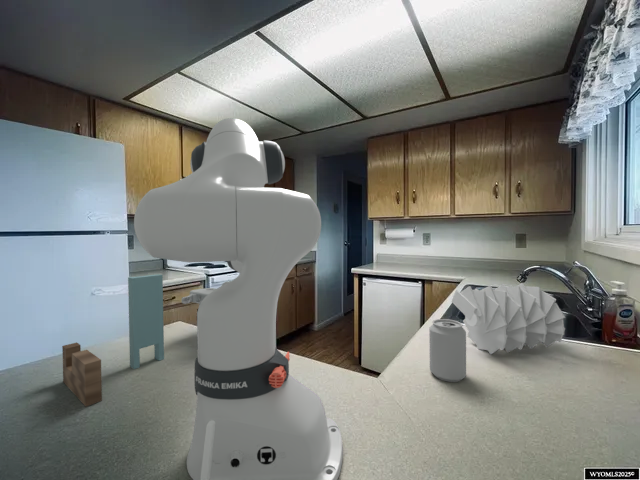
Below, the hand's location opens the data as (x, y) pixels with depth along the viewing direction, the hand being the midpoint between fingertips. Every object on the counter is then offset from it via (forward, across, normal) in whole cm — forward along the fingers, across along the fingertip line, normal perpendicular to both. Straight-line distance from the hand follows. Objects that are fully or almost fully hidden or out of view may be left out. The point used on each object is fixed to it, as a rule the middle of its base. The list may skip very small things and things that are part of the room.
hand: (191, 302), depth 82 cm
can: (-25, +63, +13) cm, 69 cm away
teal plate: (+12, 0, +13) cm, 18 cm away
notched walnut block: (+26, +3, +13) cm, 29 cm away
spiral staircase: (-51, +73, +13) cm, 90 cm away
